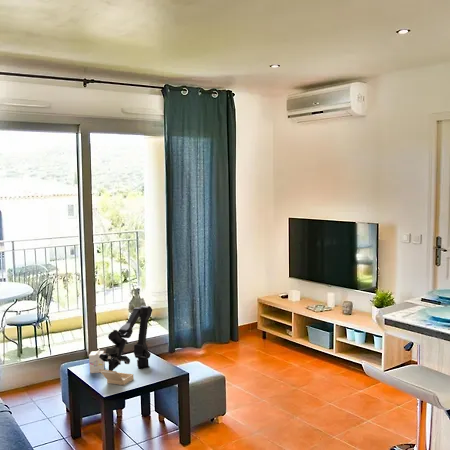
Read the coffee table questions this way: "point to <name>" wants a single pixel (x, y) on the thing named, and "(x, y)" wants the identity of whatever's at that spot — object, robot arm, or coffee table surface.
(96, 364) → the ink box
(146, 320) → the robot arm
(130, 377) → the mailer
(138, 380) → the coffee table surface
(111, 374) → the lid
